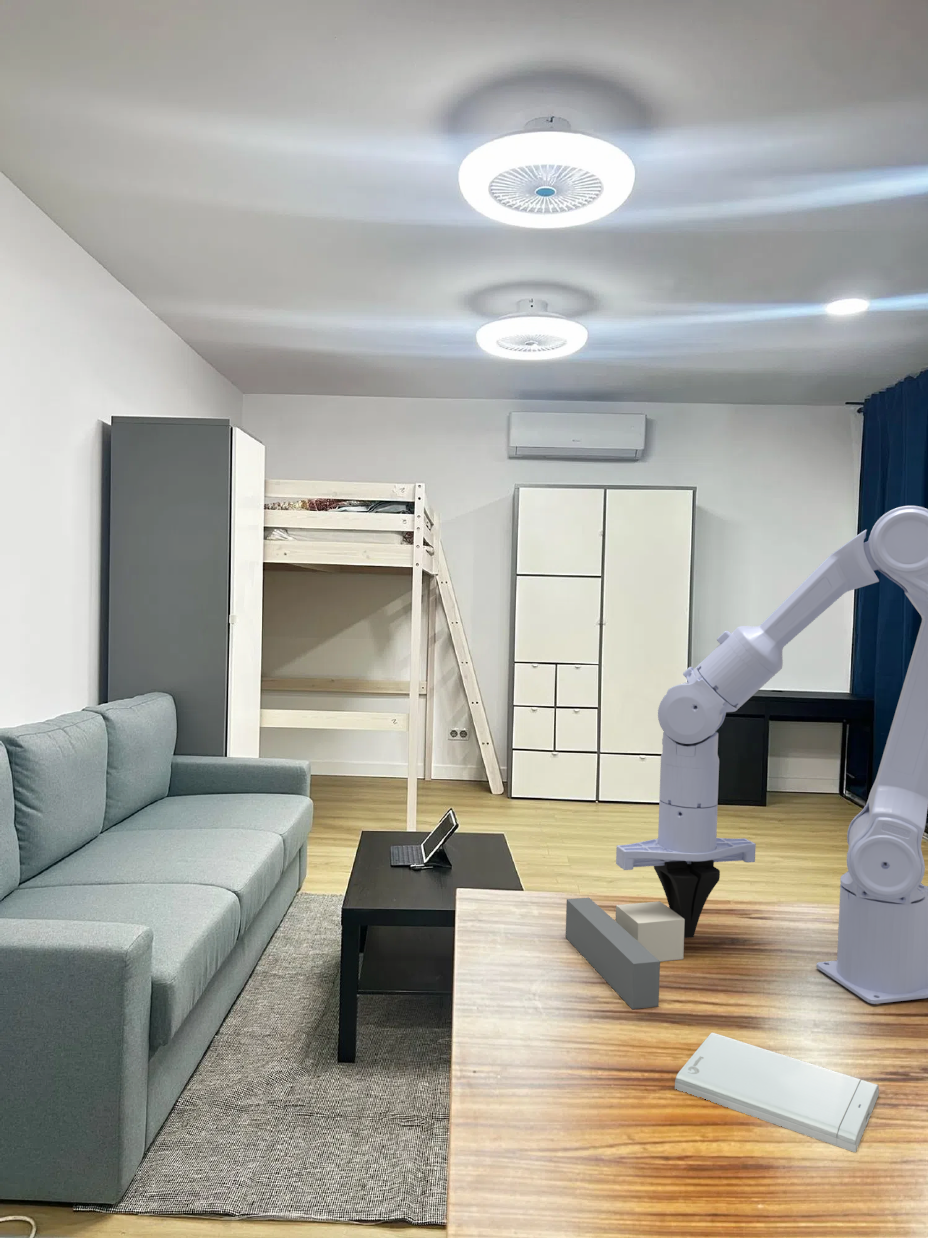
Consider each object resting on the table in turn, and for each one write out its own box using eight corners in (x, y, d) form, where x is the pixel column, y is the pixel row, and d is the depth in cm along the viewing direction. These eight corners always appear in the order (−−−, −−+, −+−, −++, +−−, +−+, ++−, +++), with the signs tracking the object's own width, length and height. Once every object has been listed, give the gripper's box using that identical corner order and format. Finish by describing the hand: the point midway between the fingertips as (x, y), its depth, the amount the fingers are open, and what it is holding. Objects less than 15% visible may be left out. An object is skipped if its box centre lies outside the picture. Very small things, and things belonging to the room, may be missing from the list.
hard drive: (674, 1075, 66) (856, 1136, 59) (712, 1029, 73) (879, 1080, 66) (674, 1097, 66) (855, 1161, 59) (711, 1050, 73) (878, 1102, 66)
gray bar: (588, 935, 95) (589, 897, 94) (658, 1006, 79) (660, 961, 79) (565, 937, 94) (566, 899, 94) (632, 1009, 78) (633, 964, 78)
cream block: (658, 939, 94) (660, 901, 94) (683, 959, 89) (684, 919, 89) (614, 943, 93) (615, 905, 92) (637, 964, 88) (638, 923, 88)
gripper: (731, 789, 97) (726, 914, 97) (605, 794, 93) (601, 924, 94) (769, 806, 90) (764, 940, 91) (635, 812, 86) (630, 952, 87)
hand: (683, 934), depth 92 cm, fingers closed
